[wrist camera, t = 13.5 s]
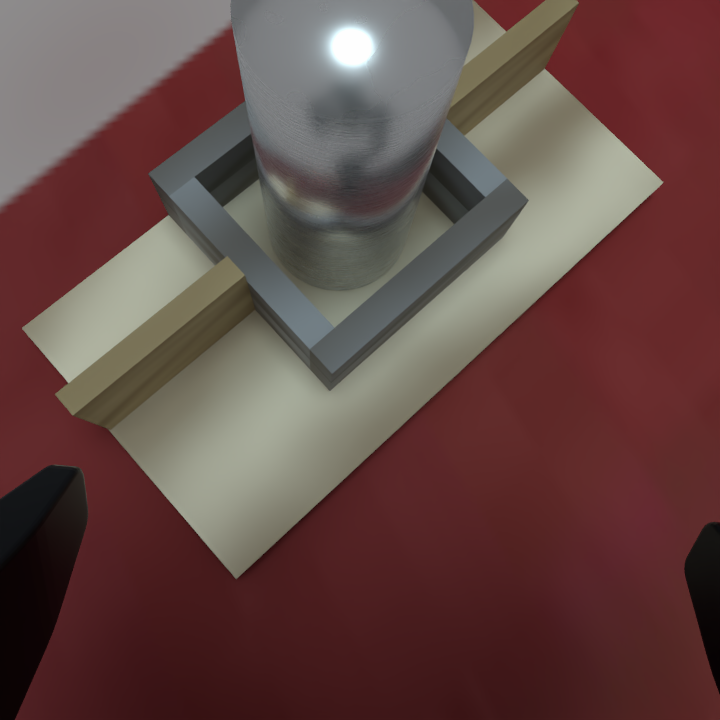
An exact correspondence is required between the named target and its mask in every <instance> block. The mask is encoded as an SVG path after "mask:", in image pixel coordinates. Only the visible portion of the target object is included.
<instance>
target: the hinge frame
mask: <svg viewBox="0 0 720 720" xmlns="http://www.w3.org/2000/svg"><path fill="white" fill-rule="evenodd" d="M472 2H473V10H474V30H473V36H472V41H471V45H470V48H469V51H468V54H467V57H466V60H465V63H464V66H463V69H462V72H461V75H460V78H459V81H458V84H457V87H456V90H455V93H454V96H453V99H452V102H451V105H450V108H449V111H448V114H447V117H446V120H445V123H444V127H443V130H442V133H441V136H440V139H439V142H438V145H437V148H436V151H435V154H434V157H433V160H432V163H431V166H430V169H429V172H428V175H427V178H426V181H425V184H424V187H423V190H422V193H421V196H420V199H419V202H418V205H417V209H416V212H415V215H414V218H413V221H412V224H411V227H410V230H409V233H408V236H407V239H406V242H405V245H404V248H403V251H402V253H401V255H400V257H399V259H398V260H397V261H396V263H395V264H394V266H393V267H392V268H391V269H390V270H389V271H388V272H387V273H386V274H385V275H383V276H382V277H381V278H379V279H378V280H376V281H375V282H373V283H371V284H368V285H366V286H364V287H360V288H357V289H352V290H343V291H335V290H326V289H321V288H318V287H315V286H312V285H309V284H307V283H305V282H303V281H301V280H300V279H298V278H297V277H295V276H294V275H293V274H292V273H291V272H289V271H288V270H287V269H286V268H285V267H284V265H283V264H282V263H281V262H280V260H279V259H278V257H277V256H276V254H275V252H274V250H273V247H272V244H271V241H270V237H269V232H268V226H267V220H266V215H265V209H264V203H263V198H262V192H261V186H260V181H259V175H258V169H257V163H256V158H255V152H254V146H253V141H252V135H251V129H250V124H249V118H248V112H247V107H246V101H245V102H243V103H242V104H241V105H239V106H238V107H237V108H235V109H234V110H233V111H231V112H230V113H229V114H227V115H226V116H225V117H223V118H222V119H221V120H219V121H218V122H217V123H215V124H214V125H213V126H211V127H210V128H209V129H207V130H206V131H205V132H203V133H202V134H201V135H199V136H198V137H197V138H195V139H194V140H193V141H191V142H190V143H189V144H187V145H186V146H185V147H183V148H182V149H181V150H179V151H178V152H177V153H175V154H174V155H173V156H171V157H170V158H169V159H167V160H166V161H165V162H163V163H162V164H161V165H159V166H158V167H157V168H155V169H154V170H152V171H151V172H150V173H148V174H149V176H150V178H151V180H152V182H153V184H154V186H155V188H156V190H157V192H158V194H159V196H160V198H161V200H162V202H163V204H164V206H165V208H166V210H167V212H168V214H169V215H168V216H167V217H166V218H164V219H163V220H162V221H161V222H159V223H158V224H157V225H155V226H154V227H153V228H151V229H150V230H149V231H148V232H146V233H145V234H144V235H142V236H141V237H140V238H138V239H137V240H136V241H135V242H133V243H132V244H131V245H129V246H128V247H127V248H126V249H124V250H123V251H122V252H120V253H119V254H118V255H116V256H115V257H114V258H113V259H111V260H110V261H109V262H107V263H106V264H105V265H103V266H102V267H101V268H100V269H98V270H97V271H96V272H94V273H93V274H92V275H90V276H89V277H88V278H87V279H85V280H84V281H83V282H81V283H80V284H79V285H77V286H76V287H75V288H74V289H72V290H71V291H70V292H68V293H67V294H66V295H64V296H63V297H62V298H61V299H59V300H58V301H57V302H55V303H54V304H53V305H51V306H50V307H49V308H48V309H46V310H45V311H44V312H42V313H41V314H40V315H38V316H37V317H36V318H35V319H33V320H32V321H31V322H29V323H28V324H27V325H25V326H24V327H23V328H22V329H23V330H24V331H25V333H26V334H27V335H28V336H29V337H30V338H31V340H32V341H33V342H34V343H35V344H36V345H37V347H38V348H39V349H40V350H41V351H42V352H43V354H44V355H45V356H46V357H47V358H48V359H49V361H50V362H51V363H52V364H53V365H54V367H55V368H56V369H57V370H58V371H59V372H60V374H61V375H62V376H63V377H64V378H65V379H66V381H67V382H68V384H67V385H66V386H65V387H63V388H62V389H61V390H60V391H58V392H57V393H56V394H55V395H56V396H57V397H58V399H59V400H60V401H61V402H62V403H63V404H64V406H65V407H66V408H67V409H68V410H69V412H70V413H71V414H72V415H73V416H75V417H78V418H81V419H83V420H86V421H89V422H91V423H94V424H97V425H99V426H102V427H105V428H107V429H108V430H109V431H110V432H111V433H112V434H113V436H114V437H115V438H116V439H117V440H118V441H119V443H120V444H121V445H122V446H123V447H124V448H125V450H126V451H127V452H128V453H129V454H130V455H131V457H132V458H133V459H134V460H135V461H136V462H137V464H138V465H139V466H140V467H141V468H142V469H143V471H144V472H145V473H146V474H147V475H148V476H149V478H150V479H151V480H152V481H153V482H154V484H155V485H156V486H157V487H158V488H159V489H160V491H161V492H162V493H163V494H164V495H165V496H166V498H167V499H168V500H169V501H170V502H171V503H172V505H173V506H174V507H175V508H176V509H177V510H178V512H179V513H180V514H181V515H182V516H183V517H184V519H185V520H186V521H187V522H188V523H189V524H190V526H191V527H192V528H193V529H194V530H195V531H196V533H197V534H198V535H199V536H200V537H201V538H202V540H203V541H204V542H205V543H206V544H207V546H208V547H209V548H210V549H211V550H212V551H213V553H214V554H215V555H216V556H217V557H218V558H219V560H220V561H221V562H222V563H223V564H224V565H225V567H226V568H227V569H228V570H229V571H230V572H231V574H232V575H233V576H234V577H235V578H236V579H237V578H238V577H239V576H240V575H241V574H242V573H243V572H244V571H246V570H247V569H248V568H249V567H250V566H251V565H252V564H253V563H254V562H255V561H256V560H257V559H259V558H260V557H261V556H262V555H263V554H264V553H265V552H266V551H267V550H268V549H269V548H270V547H271V546H273V545H274V544H275V543H276V542H277V541H278V540H279V539H280V538H281V537H282V536H283V535H284V534H285V533H287V532H288V531H289V530H290V529H291V528H292V527H293V526H294V525H295V524H296V523H297V522H298V521H299V520H301V519H302V518H303V517H304V516H305V515H306V514H307V513H308V512H309V511H310V510H311V509H312V508H313V507H315V506H316V505H317V504H318V503H319V502H320V501H321V500H322V499H323V498H324V497H325V496H326V495H327V494H329V493H330V492H331V491H332V490H333V489H334V488H335V487H336V486H337V485H338V484H339V483H340V482H341V481H343V480H344V479H345V478H346V477H347V476H348V475H349V474H350V473H351V472H352V471H353V470H354V469H355V468H357V467H358V466H359V465H360V464H361V463H362V462H363V461H364V460H365V459H366V458H367V457H368V456H369V455H371V454H372V453H373V452H374V451H375V450H376V449H377V448H378V447H379V446H380V445H381V444H382V443H383V442H385V441H386V440H387V439H388V438H389V437H390V436H391V435H392V434H393V433H394V432H395V431H396V430H397V429H399V428H400V427H401V426H402V425H403V424H404V423H405V422H406V421H407V420H408V419H409V418H410V417H411V416H413V415H414V414H415V413H416V412H417V411H418V410H419V409H420V408H421V407H422V406H423V405H424V404H425V403H427V402H428V401H429V400H430V399H431V398H432V397H433V396H434V395H435V394H436V393H437V392H438V391H439V390H441V389H442V388H443V387H444V386H445V385H446V384H447V383H448V382H449V381H450V380H451V379H452V378H453V377H455V376H456V375H457V374H458V373H459V372H460V371H461V370H462V369H463V368H464V367H465V366H466V365H467V364H469V363H470V362H471V361H472V360H473V359H474V358H475V357H476V356H477V355H478V354H479V353H480V352H481V351H483V350H484V349H485V348H486V347H487V346H488V345H489V344H490V343H491V342H492V341H493V340H494V339H495V338H497V337H498V336H499V335H500V334H501V333H502V332H503V331H504V330H505V329H506V328H507V327H508V326H509V325H511V324H512V323H513V322H514V321H515V320H516V319H517V318H518V317H519V316H520V315H521V314H522V313H523V312H525V311H526V310H527V309H528V308H529V307H530V306H531V305H532V304H533V303H534V302H535V301H536V300H537V299H539V298H540V297H541V296H542V295H543V294H544V293H545V292H546V291H547V290H548V289H549V288H550V287H551V286H553V285H554V284H555V283H556V282H557V281H558V280H559V279H560V278H561V277H562V276H563V275H564V274H565V273H567V272H568V271H569V270H570V269H571V268H572V267H573V266H574V265H575V264H576V263H577V262H578V261H579V260H581V259H582V258H583V257H584V256H585V255H586V254H587V253H588V252H589V251H590V250H591V249H592V248H593V247H595V246H596V245H597V244H598V243H599V242H600V241H601V240H602V239H603V238H604V237H605V236H606V235H607V234H609V233H610V232H611V231H612V230H613V229H614V228H615V227H616V226H617V225H618V224H619V223H620V222H621V221H623V220H624V219H625V218H626V217H627V216H628V215H629V214H630V213H631V212H632V211H633V210H634V209H635V208H637V207H638V206H639V205H640V204H641V203H642V202H643V201H644V200H645V199H646V198H647V197H648V196H649V195H651V194H652V193H653V192H654V191H655V190H656V189H657V188H658V187H659V186H660V185H661V184H662V183H663V182H662V181H661V180H660V179H659V178H658V177H657V176H656V175H655V174H654V173H653V172H652V171H651V170H650V169H649V168H648V167H647V166H646V165H645V164H644V163H643V162H642V161H640V160H639V159H638V158H637V157H636V156H635V155H634V154H633V153H632V152H631V151H630V150H629V149H628V148H627V147H626V146H625V145H624V144H623V143H622V142H621V141H620V140H619V139H618V138H616V137H615V136H614V135H613V134H612V133H611V132H610V131H609V130H608V129H607V128H606V127H605V126H604V125H603V124H602V123H601V122H600V121H599V120H598V119H597V118H596V117H595V116H594V115H592V114H591V113H590V112H589V111H588V110H587V109H586V108H585V107H584V106H583V105H582V104H581V103H580V102H579V101H578V100H577V99H576V98H575V97H574V96H573V95H572V94H571V93H570V92H568V91H567V90H566V89H565V88H564V87H563V86H562V85H561V84H560V83H559V82H558V81H557V80H556V79H555V78H554V77H553V76H552V75H551V74H550V73H549V72H548V71H547V70H546V69H544V68H545V67H546V65H547V63H548V61H549V59H550V57H551V55H552V53H553V51H554V49H555V48H556V46H557V44H558V42H559V40H560V38H561V36H562V34H563V32H564V30H565V29H566V27H567V25H568V23H569V21H570V19H571V17H572V15H573V13H574V11H575V10H576V8H577V6H578V4H579V3H578V2H577V1H576V0H546V1H544V2H543V3H542V4H541V5H539V6H538V7H537V8H536V9H534V10H533V11H532V12H531V13H529V14H528V15H527V16H526V17H524V18H523V19H522V20H521V21H519V22H518V23H517V24H516V25H514V26H513V27H512V28H511V29H509V30H508V31H507V32H506V31H505V30H504V29H503V28H502V27H501V26H500V25H499V24H498V23H496V22H495V21H494V20H493V19H492V18H491V17H490V16H489V15H488V14H487V13H486V12H485V11H484V10H483V9H482V8H481V7H480V6H479V5H478V4H477V3H476V2H475V1H474V0H472Z"/></svg>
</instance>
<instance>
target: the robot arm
mask: <svg viewBox="0 0 720 720" xmlns="http://www.w3.org/2000/svg"><path fill="white" fill-rule="evenodd" d="M87 519H88V506H87V498H86V490H85V482H84V475H83V472H82V470H81V469H80V468H78V467H75V466H64V465H50V466H47V467H46V468H44V469H43V470H41V471H40V472H38V473H37V474H35V475H34V476H32V477H31V478H30V479H28V480H27V481H25V482H24V483H22V484H21V485H19V486H18V487H17V488H15V489H14V490H12V491H11V492H9V493H8V494H6V495H5V496H4V497H2V498H1V499H0V720H15V718H16V716H17V713H18V711H19V709H20V707H21V704H22V702H23V700H24V698H25V695H26V693H27V691H28V688H29V686H30V684H31V682H32V679H33V677H34V675H35V673H36V670H37V668H38V666H39V663H40V661H41V659H42V657H43V654H44V652H45V650H46V648H47V645H48V643H49V640H50V638H51V635H52V633H53V630H54V628H55V625H56V622H57V619H58V616H59V613H60V609H61V606H62V603H63V600H64V597H65V593H66V590H67V587H68V584H69V580H70V577H71V574H72V571H73V567H74V564H75V561H76V558H77V555H78V551H79V548H80V545H81V542H82V538H83V535H84V532H85V529H86V525H87ZM684 570H685V577H686V581H687V585H688V588H689V592H690V596H691V599H692V603H693V607H694V610H695V614H696V618H697V621H698V625H699V629H700V632H701V636H702V640H703V643H704V647H705V651H706V654H707V658H708V661H709V664H710V668H711V671H712V674H713V677H714V680H715V683H716V686H717V688H718V691H719V694H720V522H711V523H708V524H707V525H705V526H704V528H703V529H702V531H701V533H700V534H699V536H698V538H697V540H696V542H695V543H694V545H693V547H692V549H691V551H690V552H689V554H688V556H687V558H686V561H685V568H684Z"/></svg>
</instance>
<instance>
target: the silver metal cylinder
mask: <svg viewBox="0 0 720 720" xmlns="http://www.w3.org/2000/svg"><path fill="white" fill-rule="evenodd" d="M231 21H232V27H233V33H234V38H235V44H236V50H237V55H238V61H239V67H240V72H241V78H242V84H243V90H244V95H245V101H246V107H247V112H248V118H249V124H250V129H251V135H252V141H253V146H254V152H255V158H256V163H257V169H258V175H259V181H260V186H261V192H262V198H263V203H264V209H265V215H266V220H267V226H268V232H269V237H270V241H271V244H272V247H273V250H274V252H275V254H276V256H277V257H278V259H279V260H280V262H281V263H282V264H283V265H284V267H285V268H286V269H287V270H288V271H289V272H291V273H292V274H293V275H294V276H295V277H297V278H298V279H300V280H301V281H303V282H305V283H307V284H309V285H312V286H315V287H318V288H321V289H326V290H335V291H343V290H352V289H357V288H360V287H364V286H366V285H368V284H371V283H373V282H375V281H376V280H378V279H379V278H381V277H382V276H383V275H385V274H386V273H387V272H388V271H389V270H390V269H391V268H392V267H393V266H394V264H395V263H396V261H397V260H398V259H399V257H400V255H401V253H402V251H403V248H404V245H405V242H406V239H407V236H408V233H409V230H410V227H411V224H412V221H413V218H414V215H415V212H416V209H417V205H418V202H419V199H420V196H421V193H422V190H423V187H424V184H425V181H426V178H427V175H428V172H429V169H430V166H431V163H432V160H433V157H434V154H435V151H436V148H437V145H438V142H439V139H440V136H441V133H442V130H443V127H444V123H445V120H446V117H447V114H448V111H449V108H450V105H451V102H452V99H453V96H454V93H455V90H456V87H457V84H458V81H459V78H460V75H461V72H462V69H463V66H464V63H465V60H466V57H467V54H468V51H469V48H470V45H471V41H472V36H473V30H474V10H473V2H472V0H231Z"/></svg>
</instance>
